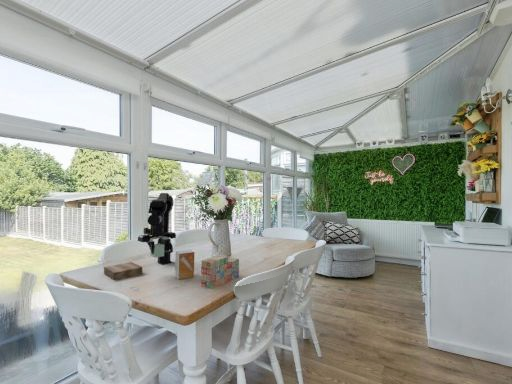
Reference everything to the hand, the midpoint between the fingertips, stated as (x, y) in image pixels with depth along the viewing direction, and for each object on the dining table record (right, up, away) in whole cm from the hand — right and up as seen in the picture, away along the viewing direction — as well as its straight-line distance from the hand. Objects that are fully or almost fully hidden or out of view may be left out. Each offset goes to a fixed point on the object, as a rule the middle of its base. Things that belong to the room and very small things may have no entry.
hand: (157, 253), depth 137 cm
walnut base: (-18, -11, -1) cm, 21 cm away
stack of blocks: (+35, -12, -10) cm, 38 cm away
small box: (+16, -11, -4) cm, 20 cm away
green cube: (0, -2, 0) cm, 2 cm away
